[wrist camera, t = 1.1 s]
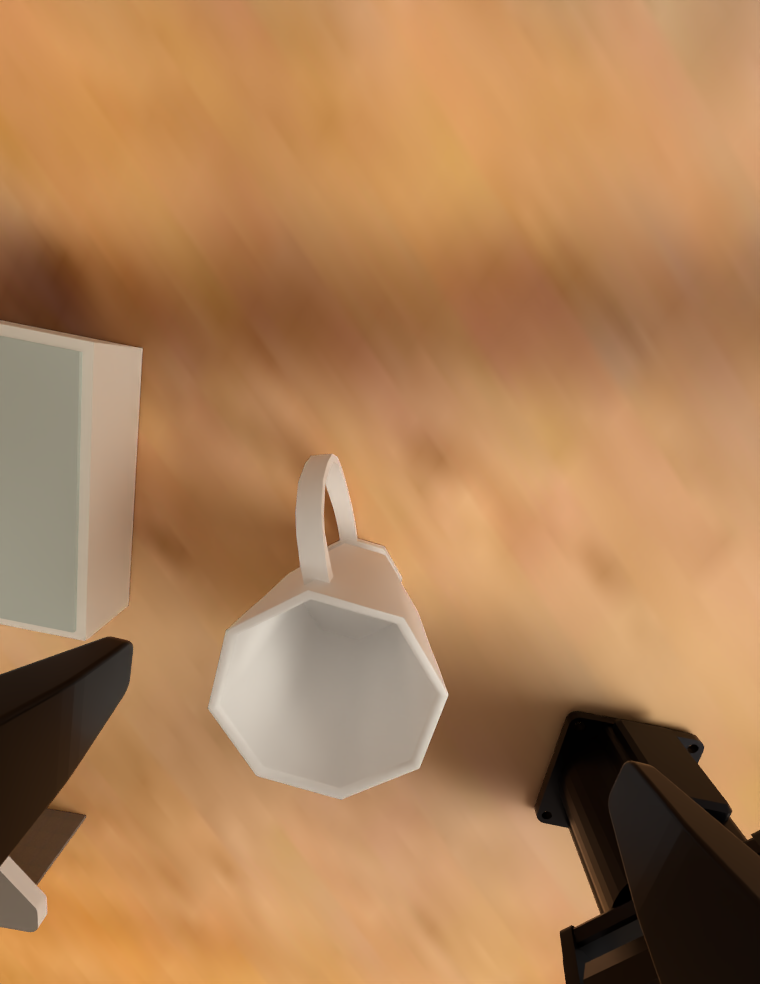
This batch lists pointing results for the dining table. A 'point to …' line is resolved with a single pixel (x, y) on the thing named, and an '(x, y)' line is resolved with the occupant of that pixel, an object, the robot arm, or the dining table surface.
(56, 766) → the robot arm
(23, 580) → the slab
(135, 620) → the dining table surface
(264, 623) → the cup
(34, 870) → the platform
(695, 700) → the dining table surface
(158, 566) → the dining table surface
